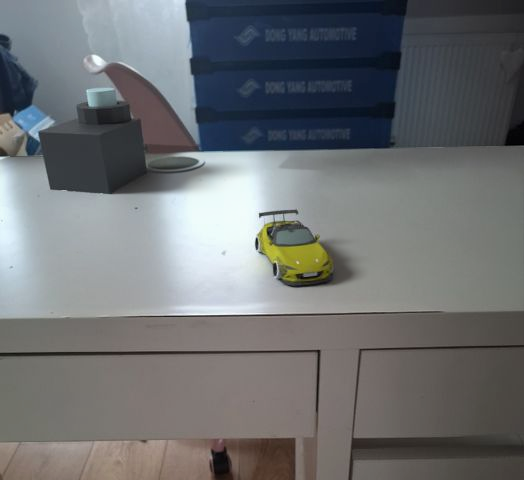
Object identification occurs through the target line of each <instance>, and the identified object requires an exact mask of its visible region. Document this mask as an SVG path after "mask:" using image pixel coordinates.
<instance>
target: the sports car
mask: <svg viewBox="0 0 524 480" xmlns="http://www.w3.org/2000/svg"><path fill="white" fill-rule="evenodd" d="M287 214H295V215H296V216H297V215H299V211H298V209H297V208H295V209H282V210H281V209H280V210H272V211H264V212H258V218H259V219H261V218H262V217H266V216H272V217H273V221H271V222H266V221H265V218H264V220H263V221H264V225H263V226H262V228H261V229H260V231H259V232H258V233H257V234H256V237H255V240H254V248H255V250H256V253H262V254H264V255H265V256H266V257H267V259H268V260H269V262H270V264H271V265H272V274H273V277H274V279H276V280H277V279H278V280H279V282H280V283H282V284H284V285H288V286H294V287H295V286H307V285H316V284H323V283H328V282H330V281H331V280H332V279H333V277H334V274H333V271H334V259H333V257H332V255H331V254H330V253H329V252H328V251H327V250H326V249H324V247H323V245H321V244H320V243H319V241H318V240H319V239H320V238H321V235H320V234H315V235H313V233H312V232H311V230H310V228H309V227H308V226H305V225H304V224H303V223H302V222H301V221H299V220H290V221H289V220H285V215H287ZM276 215H282V216H283V219H282V220H277V221H275V216H276Z"/></svg>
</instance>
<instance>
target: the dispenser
mask: <svg viewBox="0 0 524 480" xmlns="http://www.w3.org/2000/svg"><path fill="white" fill-rule="evenodd" d="M75 108H76V114H77V118H74V119H72V120H69V121H66V122H63V123H60V124H57V125H53V126H50V127H46V128H43V129H41V130H38V131H37V134H38V139H39V143H40V148H41V153H42V157H43V158H42V159H43V162H44V167H45V171H46V176H47V180H48V185H49V189H50V191H61V190H67V191H66V192H74V191H75V193H86V194H87V193H90V194H100V193H103V194H102V195H111V194H113V193H114V192H116V191H118V190H120V189H122V188H124V187H125V186H126V185H128V184H130V183H133V181H135V180H137V179H139V178H141V177H142V176H144V175H145V174H147V173H148V170H147V162H146V153H145V145H144V144H145V143H144V137H143V136H144V135H143V129H142V128H143V127H142V121H141V118H138V117H137V118H136V117H135V118H134V117H132V114H131V106H130V102H129V101H125V100H118V99H117V105H114V106H105V107H91V106H89V104H88V101H85V102H80V103H77V104H76V106H75ZM112 192H113V193H112Z"/></svg>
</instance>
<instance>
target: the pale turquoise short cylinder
mask: <svg viewBox="0 0 524 480" xmlns="http://www.w3.org/2000/svg"><path fill="white" fill-rule="evenodd" d="M86 98H87V102H88V104H89V106H91V107H105V106H114V105H117V100H118V99H117V93H116V88H113V87H93V88H88V89H86Z"/></svg>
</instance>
